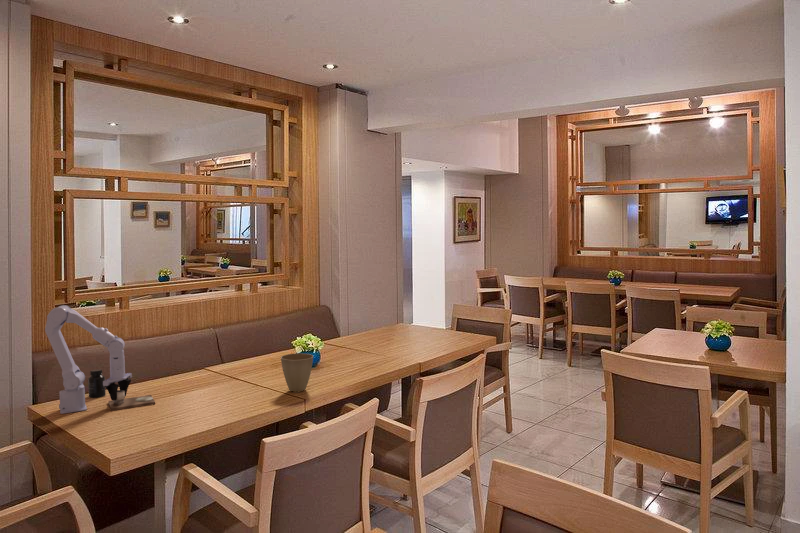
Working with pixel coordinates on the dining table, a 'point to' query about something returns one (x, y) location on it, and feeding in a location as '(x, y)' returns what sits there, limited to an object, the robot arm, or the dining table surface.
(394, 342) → the dining table surface
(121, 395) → the knob
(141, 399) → the base
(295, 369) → the plant pot
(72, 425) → the dining table surface
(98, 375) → the supplement bottle
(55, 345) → the robot arm
